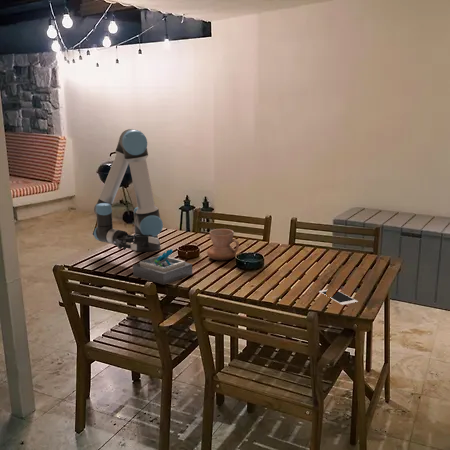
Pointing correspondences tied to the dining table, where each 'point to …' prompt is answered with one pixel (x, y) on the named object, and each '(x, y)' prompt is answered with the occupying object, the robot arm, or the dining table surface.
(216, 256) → the ceramic jug
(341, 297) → the cell phone
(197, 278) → the dining table surface
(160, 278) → the grey open tray
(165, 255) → the gear
